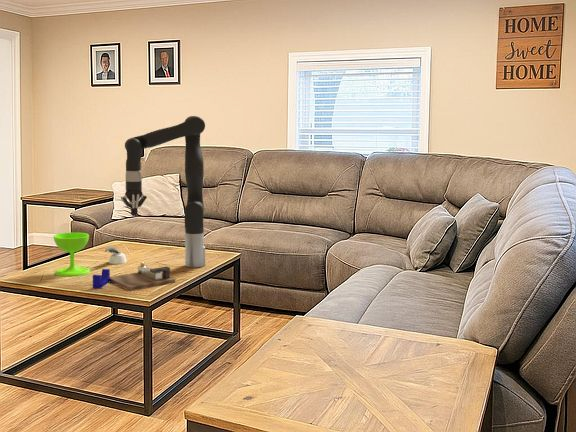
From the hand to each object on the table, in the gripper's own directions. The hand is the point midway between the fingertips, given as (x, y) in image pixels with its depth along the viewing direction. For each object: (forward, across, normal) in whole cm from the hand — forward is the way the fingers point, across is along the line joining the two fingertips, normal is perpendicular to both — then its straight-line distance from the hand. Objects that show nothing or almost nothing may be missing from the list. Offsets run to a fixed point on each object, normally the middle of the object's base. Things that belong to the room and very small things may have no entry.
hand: (134, 215), depth 303 cm
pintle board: (+27, +7, +21) cm, 35 cm away
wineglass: (+27, +26, -12) cm, 40 cm away
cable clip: (+27, +25, +16) cm, 40 cm away
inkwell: (+27, +3, -17) cm, 32 cm away
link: (+25, +3, +20) cm, 32 cm away
